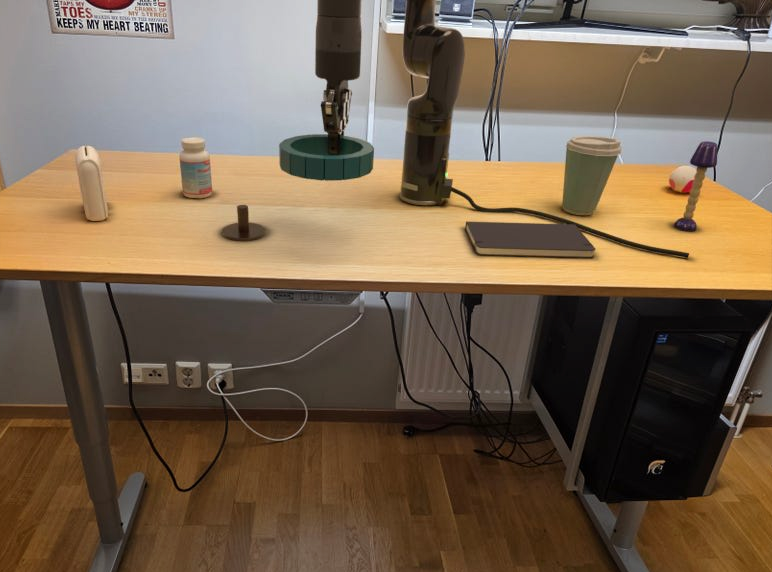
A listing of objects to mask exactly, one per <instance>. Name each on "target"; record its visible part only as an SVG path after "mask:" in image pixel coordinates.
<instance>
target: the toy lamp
mask: <svg viewBox="0 0 772 572" xmlns="http://www.w3.org/2000/svg"><path fill="white" fill-rule="evenodd" d="M689 164H690V165H691V166H694V167H696V171H697V173H696V174H695V176H694V181H693V184H692V189H691V191H689V192H690V193H689V196H688V198H687V204H685V211H684V212H683V216H682V217H680V218H677V220H675V222H674V223H673V227H674V228H675V229H677V230H679V231H684V232H695V231H696V230H697V229H698V225H697V222H696V221H695V220H694V219H693V218H694V214H695V213H694V212H695V211H696V207H697V203H698V202H699V196H700V195H701V189H702V188H703V186H704V185H703V184H704V183H703V181H704V180H705V178H706V173H707V171H708V169H711V168H715V167H716V166H717V164H718V143H716V142H715V141H709V140H708V141H701V142H700V143H699V144H698V146H697V148H696V149H695V151H694V153H693V154H692V156H691V158H690V160H689Z"/></svg>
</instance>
